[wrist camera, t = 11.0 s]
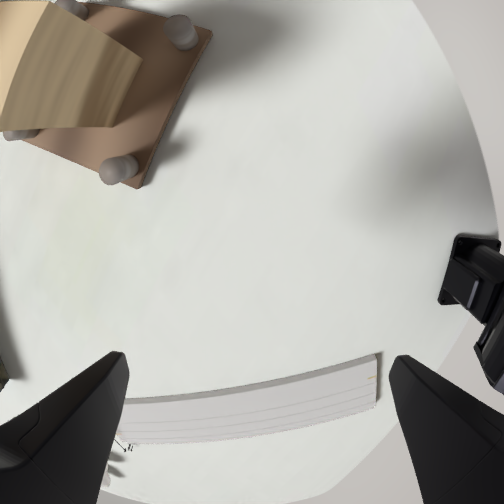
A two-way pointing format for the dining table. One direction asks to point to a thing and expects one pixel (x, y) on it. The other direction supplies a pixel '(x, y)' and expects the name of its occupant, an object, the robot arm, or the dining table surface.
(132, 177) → the peg plate
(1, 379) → the dark weathered brick
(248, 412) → the baseboard
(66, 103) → the oak block
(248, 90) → the dining table surface
